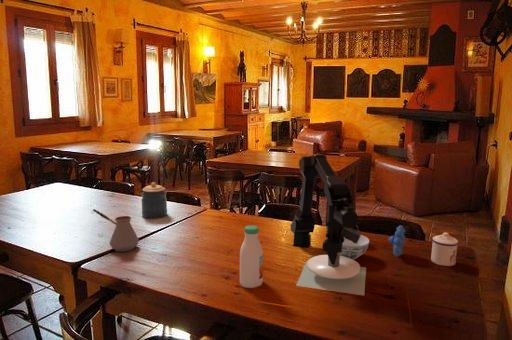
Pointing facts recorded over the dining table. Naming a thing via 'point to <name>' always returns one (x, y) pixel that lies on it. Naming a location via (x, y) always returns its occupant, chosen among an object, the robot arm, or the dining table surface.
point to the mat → (333, 282)
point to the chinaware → (354, 247)
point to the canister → (154, 201)
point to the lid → (333, 267)
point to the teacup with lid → (444, 250)
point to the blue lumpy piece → (398, 240)
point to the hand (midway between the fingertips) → (333, 261)
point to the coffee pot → (122, 233)
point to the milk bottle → (251, 259)
